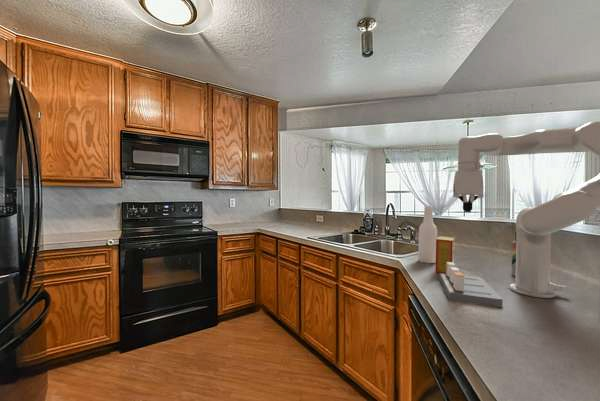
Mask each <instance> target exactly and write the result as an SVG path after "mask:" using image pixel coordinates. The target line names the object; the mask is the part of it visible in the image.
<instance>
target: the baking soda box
mask: <svg viewBox="0 0 600 401" xmlns="http://www.w3.org/2000/svg"><path fill="white" fill-rule="evenodd" d="M455 256H456V237H452V236H451V237H450V236H437V239H436V263H435V273H436V274H440V273H443V274H446V265H447V262H453V263H454V264H455V265H456V263H455V262H456V261H455V260H456V257H455Z"/></svg>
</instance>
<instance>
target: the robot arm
mask: <svg viewBox="0 0 600 401" xmlns="http://www.w3.org/2000/svg"><path fill="white" fill-rule="evenodd" d="M457 148H458V151H457V152H458V153H457V154H458V155H457V156H458V157H457V170H456V171H455V173H454V177H453V186H452V193H453V194H452V197H453V198H456V199H459V200H460V201H461V202H462V210H463V212H464V213H471V212H472V211H473V203H474V202H475V201H477V200H478V199H482V198H484V178H483V173H482V170H480V169H483V168H485V165H484V164H483V163H481V153H483V154H484V155H486V156H489V157H490V156H491V157H492V156H493V157H495V156H497V157H498V156H499V157H500V156H518V155H520V156H521V155H536V154H540V155H541V154H557V153H558V154H559V153H562V154H563V153H586V152H592V153H593V154H595V155H597V157H600V121H591V122H588V123H585V124H584V125H581V126H573V127H564V128H563V127H561V128H559V127H558V128H547V129H545V128H544V129H537V130H534V131H531V132H529V133H526V134H520V135H514V136H503V135H502V134H500V133H496V132H493V133H492V132H491V133H488V134H487V133H486V134H482V135H477V136H476V135H475V136H474V135H473V136H463V137H461V138H460V139H459V140H458V146H457ZM467 196H469V197H468V198H467ZM599 207H600V172H599V173H598V175H596V176H595V177H593V178H591V179H589V180H587V181H585V182H583V183H581V184H579V185H576V186H575V187H573V188H571V189H567V190H565V191H563V192H560V193H557V194H556V195H555V196H554V197H553V198H551V199H550V200H548V201H545V202H544V203H543V202H542V203H541V204H539V205H536V206H528V207H525V208H524V209H523V208H522V210H520V211H519V212H518V214H516V215H517V216H516V218H515V219H516V220H515V222H516V223H515V225H516V226H515V227H516V228H515V229H516V231H515V232H517V242H516V275H515V276H514V277H515V279H514V280H515V282H513V283H510V284H509V288H510V290H511V291H513V292H515V293H517V294H522V295H524V296H529V297H533V298H539V299H552V298H555V297H556V291H558V292H568V286H566V285H560V284H557V283H553V282H551V280H550V278H551V277H550V275H551V252H552V250H551V249H552V248H551V247H552V238H551V234H553V233H556V232H558V231H561V230H564V229H566V228H569V227H571V226H574V225H575V224H578V223H581V222H583V221H585V220H587V219H589V218H590V217H592V216H593V215H594V214H595V213H596V212H597V210H598V208H599Z"/></svg>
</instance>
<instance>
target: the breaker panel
mask: <svg viewBox="0 0 600 401" xmlns="http://www.w3.org/2000/svg"><path fill="white" fill-rule="evenodd" d="M438 274H439V282H440V284H441V286H442V288H443V290H444V292H445V294H446V296H447V298H448V301H451V302H453V301H454V302H460V303H461V302H462V303H468V304H474V305H476V304H477V305H483V306H491V307H498V308H503V302H504V301H503V298H502V297H501V296H500V295H499V294H498V293H497V292H496V291H495V290H494V288H492V287H491V285H489V284H488V283H487V282H486V281H485V280H484V279H483V278H482V277H481V276H473V275H472V276H471V275H464V291H457V290H455V288H454V287H453V285H454V283H451V281H450V277H448V276H447V274H443V273H438Z"/></svg>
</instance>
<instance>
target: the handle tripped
mask: <svg viewBox="0 0 600 401" xmlns="http://www.w3.org/2000/svg"><path fill="white" fill-rule="evenodd" d="M464 276H465V274H463V272H461V271H460V272H454V285H453V287H454V288H455V290H457V291H464Z"/></svg>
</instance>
